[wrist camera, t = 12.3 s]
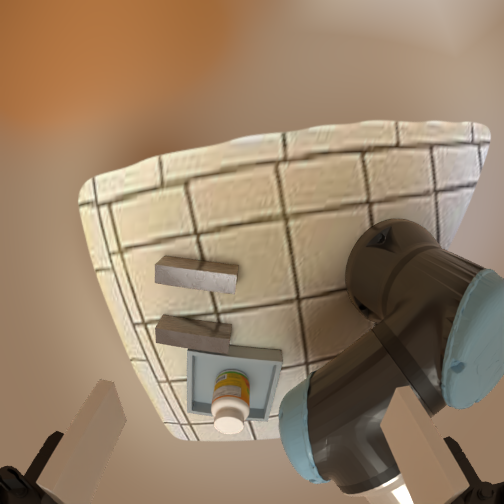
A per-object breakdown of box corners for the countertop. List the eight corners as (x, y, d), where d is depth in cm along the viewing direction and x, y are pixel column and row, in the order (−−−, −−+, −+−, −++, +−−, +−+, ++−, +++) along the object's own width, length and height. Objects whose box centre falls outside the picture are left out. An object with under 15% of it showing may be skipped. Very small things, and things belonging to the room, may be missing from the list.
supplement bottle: (247, 394, 42) (246, 439, 33) (214, 390, 42) (207, 434, 33) (251, 370, 41) (251, 415, 31) (216, 366, 41) (209, 411, 31)
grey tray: (280, 350, 40) (282, 361, 38) (266, 409, 44) (267, 421, 41) (191, 339, 40) (187, 350, 37) (190, 400, 43) (187, 412, 41)
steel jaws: (238, 265, 37) (236, 275, 33) (230, 338, 40) (228, 354, 36) (164, 255, 37) (155, 264, 33) (163, 328, 40) (155, 342, 36)
